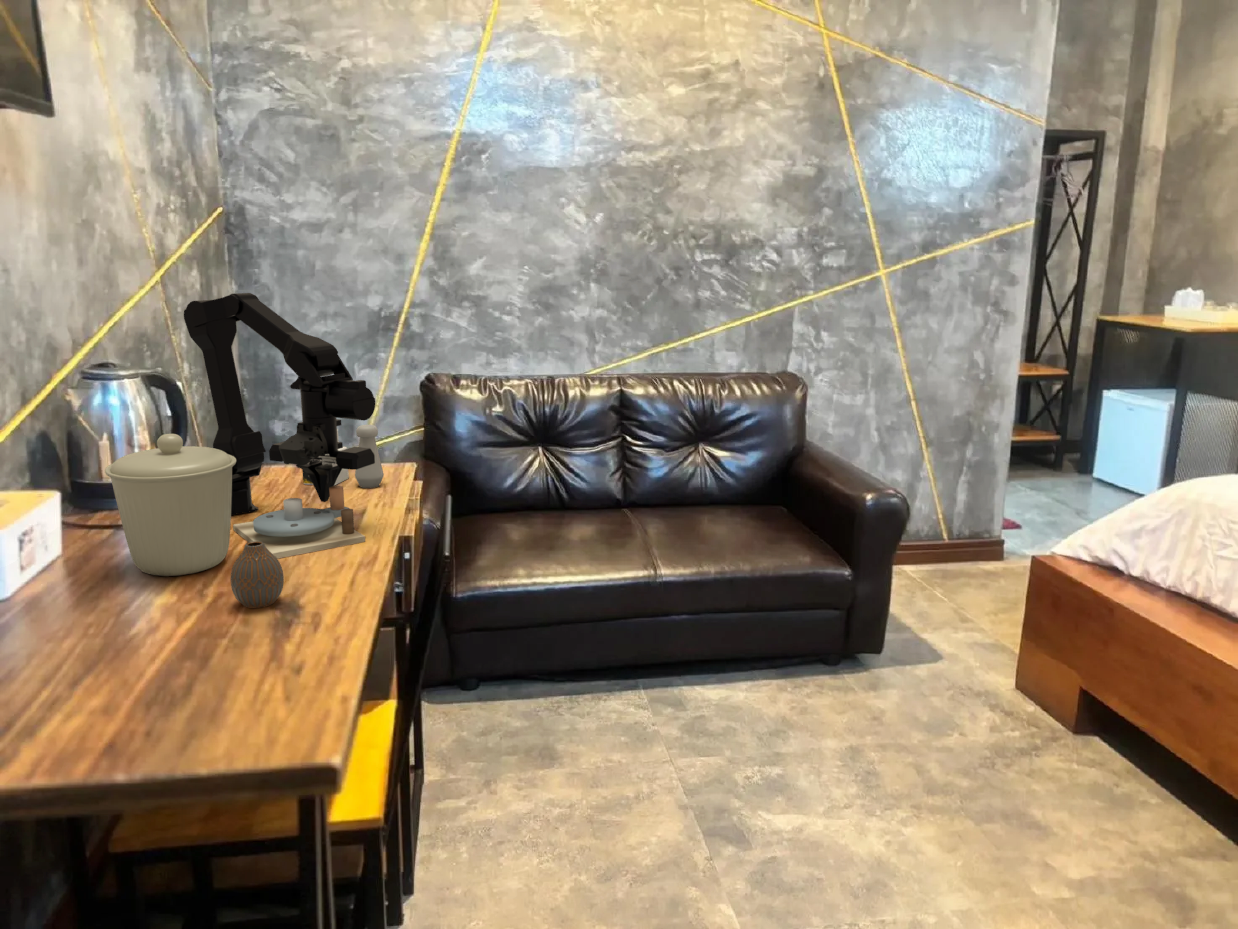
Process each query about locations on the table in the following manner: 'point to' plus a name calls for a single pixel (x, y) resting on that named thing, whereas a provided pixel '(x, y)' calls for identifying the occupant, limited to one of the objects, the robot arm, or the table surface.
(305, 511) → the flange plate
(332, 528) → the board
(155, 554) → the canister
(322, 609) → the table surface
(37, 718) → the table surface
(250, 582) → the vase
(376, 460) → the salt shaker
